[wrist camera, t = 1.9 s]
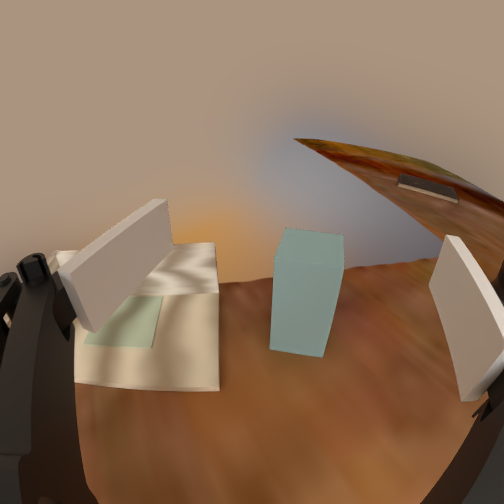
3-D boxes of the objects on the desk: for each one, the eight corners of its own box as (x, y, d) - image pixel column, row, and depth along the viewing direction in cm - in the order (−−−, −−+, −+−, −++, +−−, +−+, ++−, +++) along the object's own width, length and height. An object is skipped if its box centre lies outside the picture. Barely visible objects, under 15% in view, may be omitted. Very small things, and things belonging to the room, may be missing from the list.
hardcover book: (457, 205, 74) (459, 199, 73) (397, 188, 85) (398, 181, 84) (452, 193, 86) (453, 187, 85) (399, 178, 97) (400, 172, 95)
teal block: (326, 320, 34) (343, 235, 28) (322, 357, 29) (344, 267, 23) (279, 313, 35) (285, 227, 29) (269, 349, 30) (274, 257, 24)
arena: (219, 291, 39) (214, 241, 35) (219, 391, 25) (210, 339, 21) (71, 294, 37) (54, 250, 33) (30, 373, 24) (-2, 326, 20)
